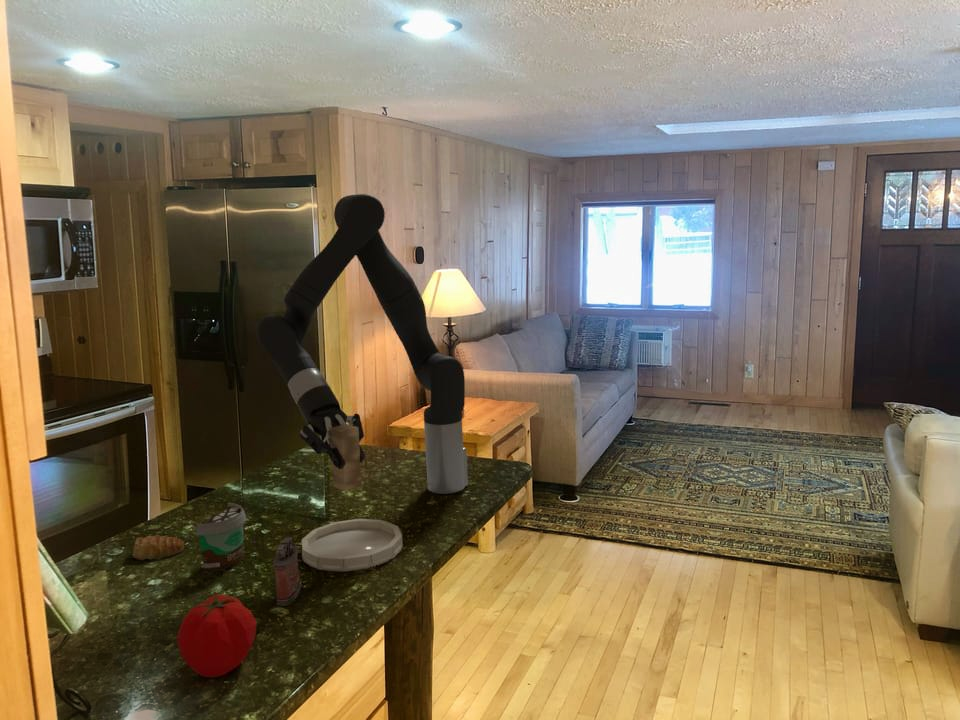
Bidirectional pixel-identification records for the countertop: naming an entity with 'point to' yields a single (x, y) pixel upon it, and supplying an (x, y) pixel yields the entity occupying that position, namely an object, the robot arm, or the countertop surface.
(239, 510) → the food container
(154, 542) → the pastry
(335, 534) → the round dish
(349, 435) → the oak block
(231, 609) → the tomato
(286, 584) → the lighter
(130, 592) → the countertop surface
